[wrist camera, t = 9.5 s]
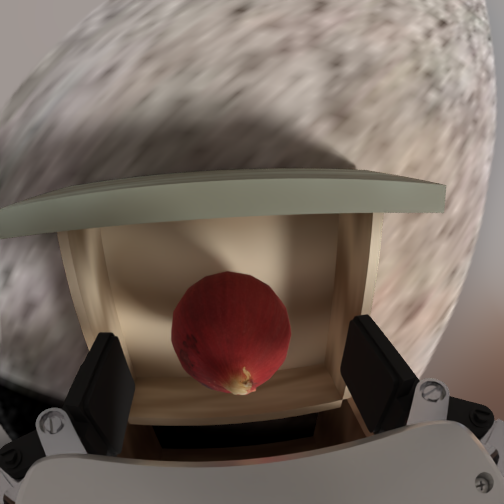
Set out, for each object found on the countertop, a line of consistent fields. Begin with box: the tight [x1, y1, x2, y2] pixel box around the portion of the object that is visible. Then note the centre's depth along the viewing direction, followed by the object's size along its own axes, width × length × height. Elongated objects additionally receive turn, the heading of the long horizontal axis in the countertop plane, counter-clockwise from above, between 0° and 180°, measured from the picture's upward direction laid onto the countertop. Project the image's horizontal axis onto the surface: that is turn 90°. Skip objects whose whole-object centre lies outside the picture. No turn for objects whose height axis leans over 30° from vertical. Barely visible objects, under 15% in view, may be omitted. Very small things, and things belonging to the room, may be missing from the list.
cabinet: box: [117, 396, 374, 462], centre depth 17 cm, size 12×19×14 cm
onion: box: [171, 271, 291, 395], centre depth 14 cm, size 6×6×8 cm
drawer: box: [0, 168, 446, 426], centre depth 15 cm, size 15×19×8 cm
